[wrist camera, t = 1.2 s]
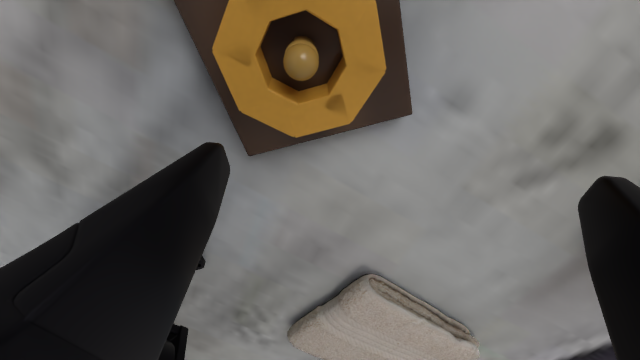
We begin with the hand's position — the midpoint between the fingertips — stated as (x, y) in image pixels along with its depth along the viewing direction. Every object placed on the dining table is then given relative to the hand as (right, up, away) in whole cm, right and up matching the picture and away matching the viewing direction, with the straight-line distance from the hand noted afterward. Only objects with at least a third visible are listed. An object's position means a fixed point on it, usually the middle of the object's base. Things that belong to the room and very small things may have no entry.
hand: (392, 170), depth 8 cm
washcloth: (+5, -16, +26) cm, 30 cm away
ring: (-3, +6, +8) cm, 11 cm away
